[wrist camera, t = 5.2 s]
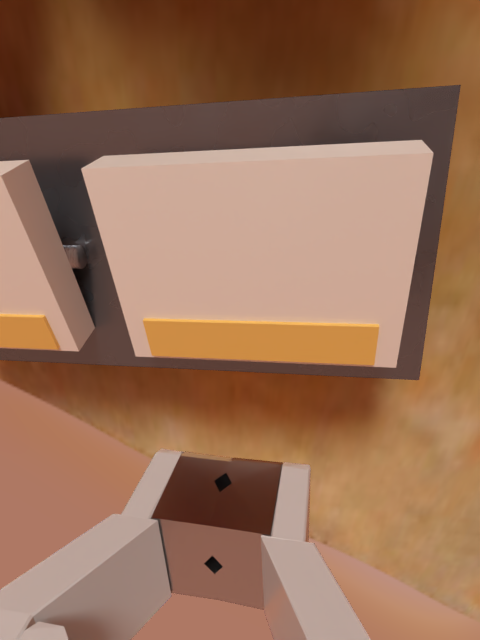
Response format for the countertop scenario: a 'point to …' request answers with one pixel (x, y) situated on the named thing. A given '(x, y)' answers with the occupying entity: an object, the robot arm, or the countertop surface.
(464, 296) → the countertop surface
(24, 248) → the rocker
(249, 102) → the panel
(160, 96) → the countertop surface
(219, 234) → the rocker
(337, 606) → the robot arm
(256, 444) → the countertop surface
